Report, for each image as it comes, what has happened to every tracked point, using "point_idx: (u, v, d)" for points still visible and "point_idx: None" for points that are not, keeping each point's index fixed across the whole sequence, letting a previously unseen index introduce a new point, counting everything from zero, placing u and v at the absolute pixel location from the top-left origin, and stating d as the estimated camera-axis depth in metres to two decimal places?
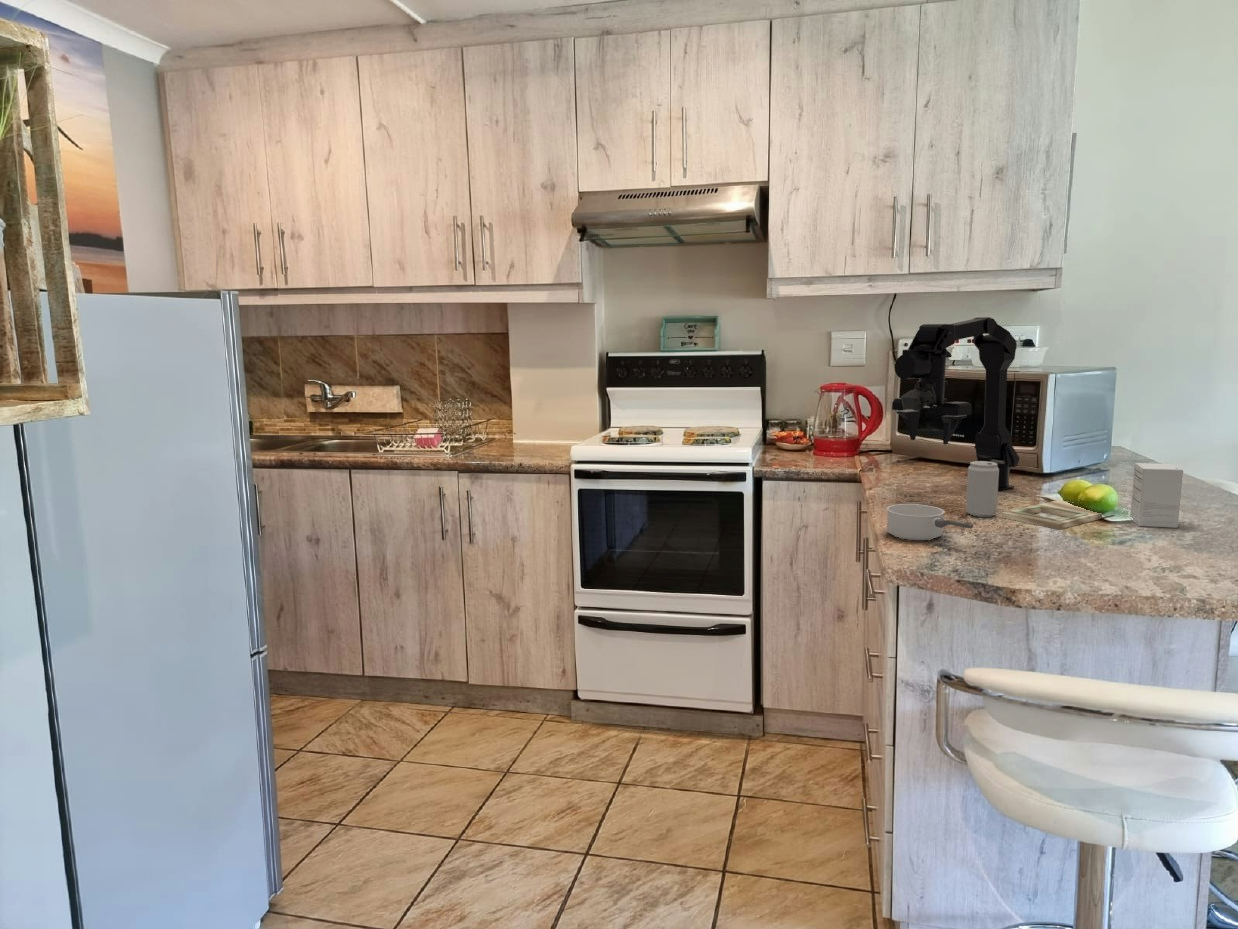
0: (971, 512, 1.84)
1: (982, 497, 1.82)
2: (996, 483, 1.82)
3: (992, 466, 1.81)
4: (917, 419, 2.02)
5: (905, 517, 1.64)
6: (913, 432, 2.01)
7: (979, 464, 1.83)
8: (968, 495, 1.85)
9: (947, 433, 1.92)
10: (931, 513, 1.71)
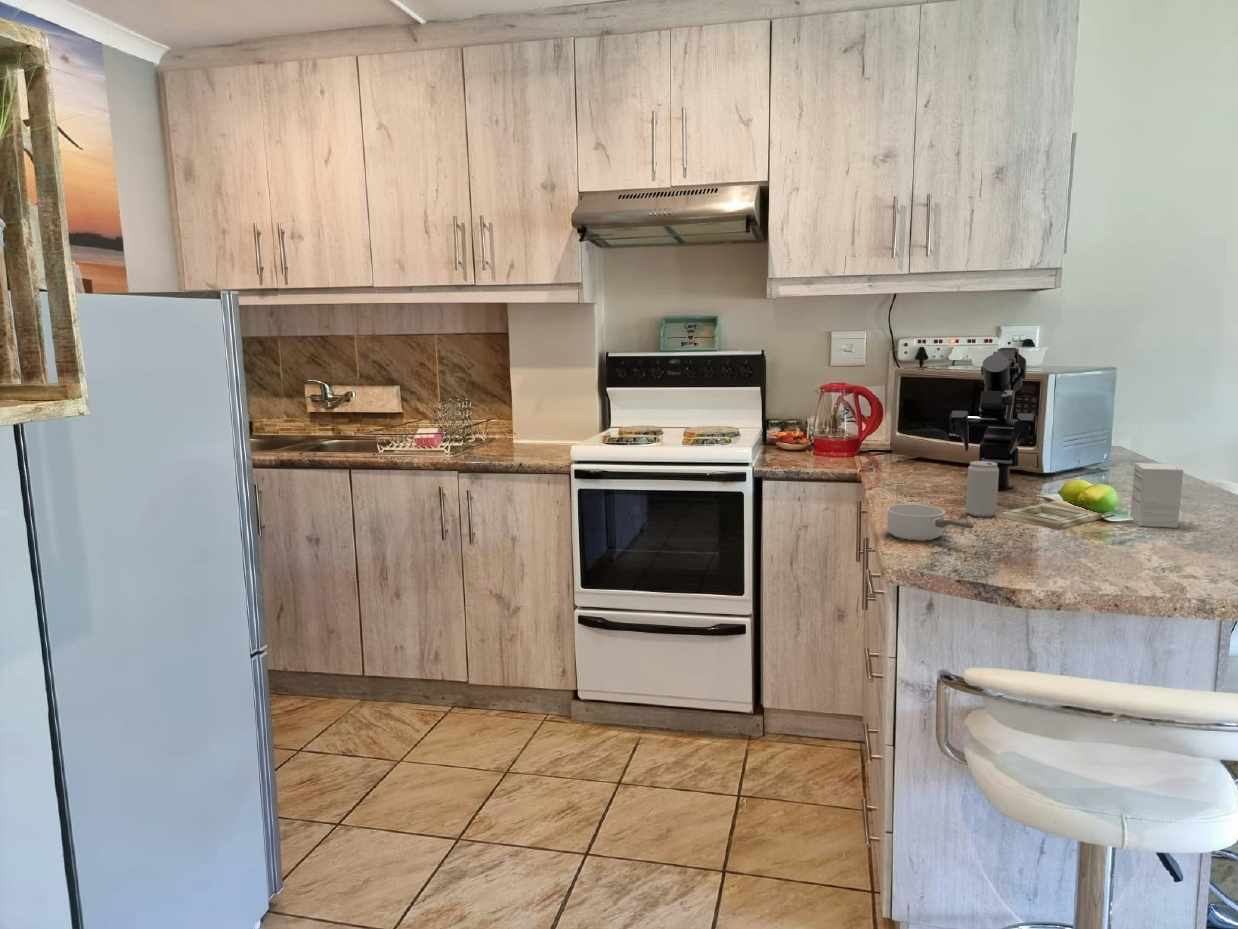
0: (971, 512, 1.84)
1: (982, 497, 1.82)
2: (996, 483, 1.82)
3: (992, 466, 1.81)
4: (968, 438, 1.97)
5: (905, 517, 1.64)
6: (968, 444, 1.94)
7: (979, 464, 1.83)
8: (968, 495, 1.85)
9: (1015, 441, 1.89)
10: (932, 513, 1.71)
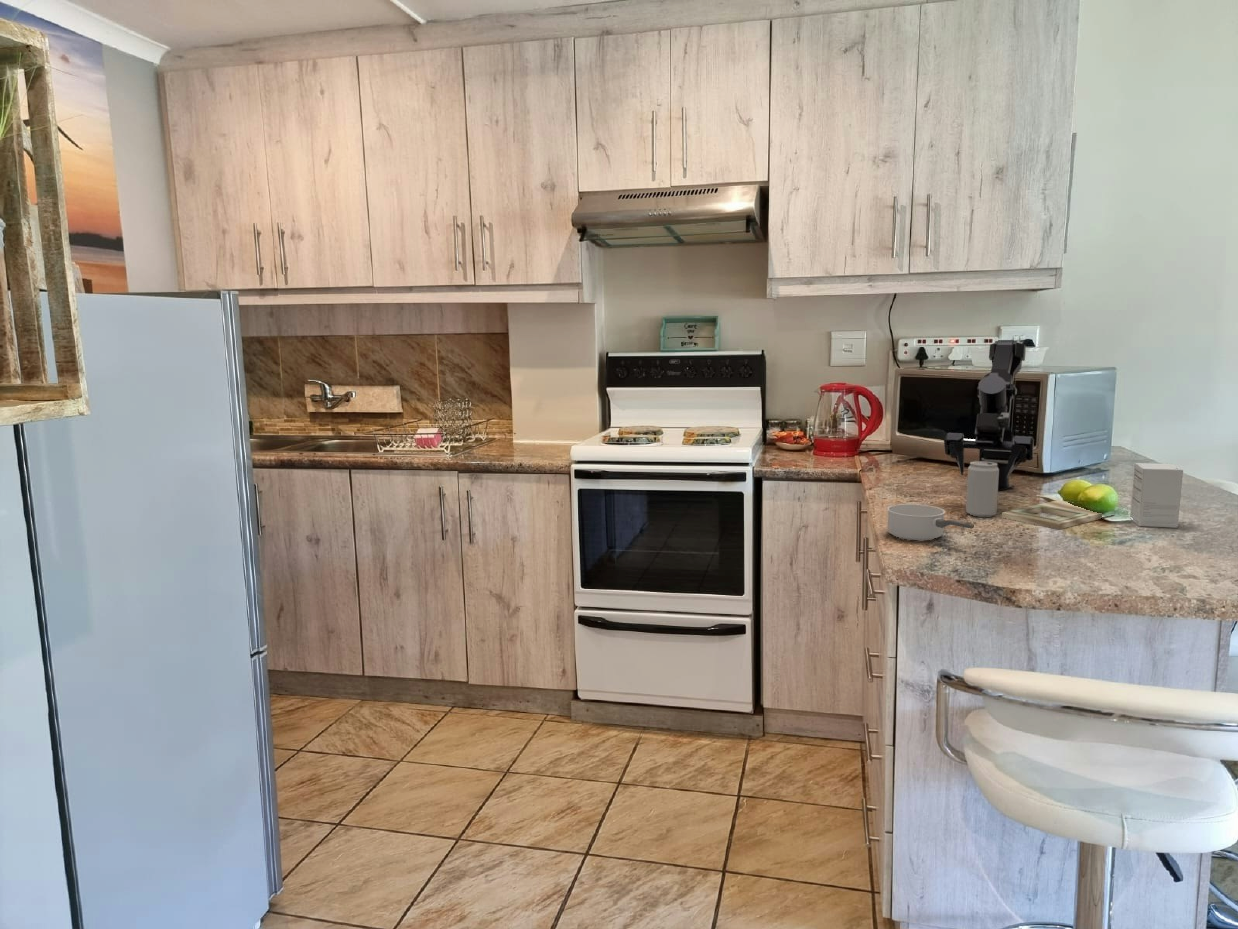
0: (971, 512, 1.84)
1: (982, 497, 1.82)
2: (996, 483, 1.82)
3: (992, 466, 1.81)
4: None
5: (905, 517, 1.64)
6: (963, 467, 1.89)
7: (979, 464, 1.83)
8: (968, 495, 1.85)
9: (1012, 465, 1.84)
10: (932, 513, 1.71)
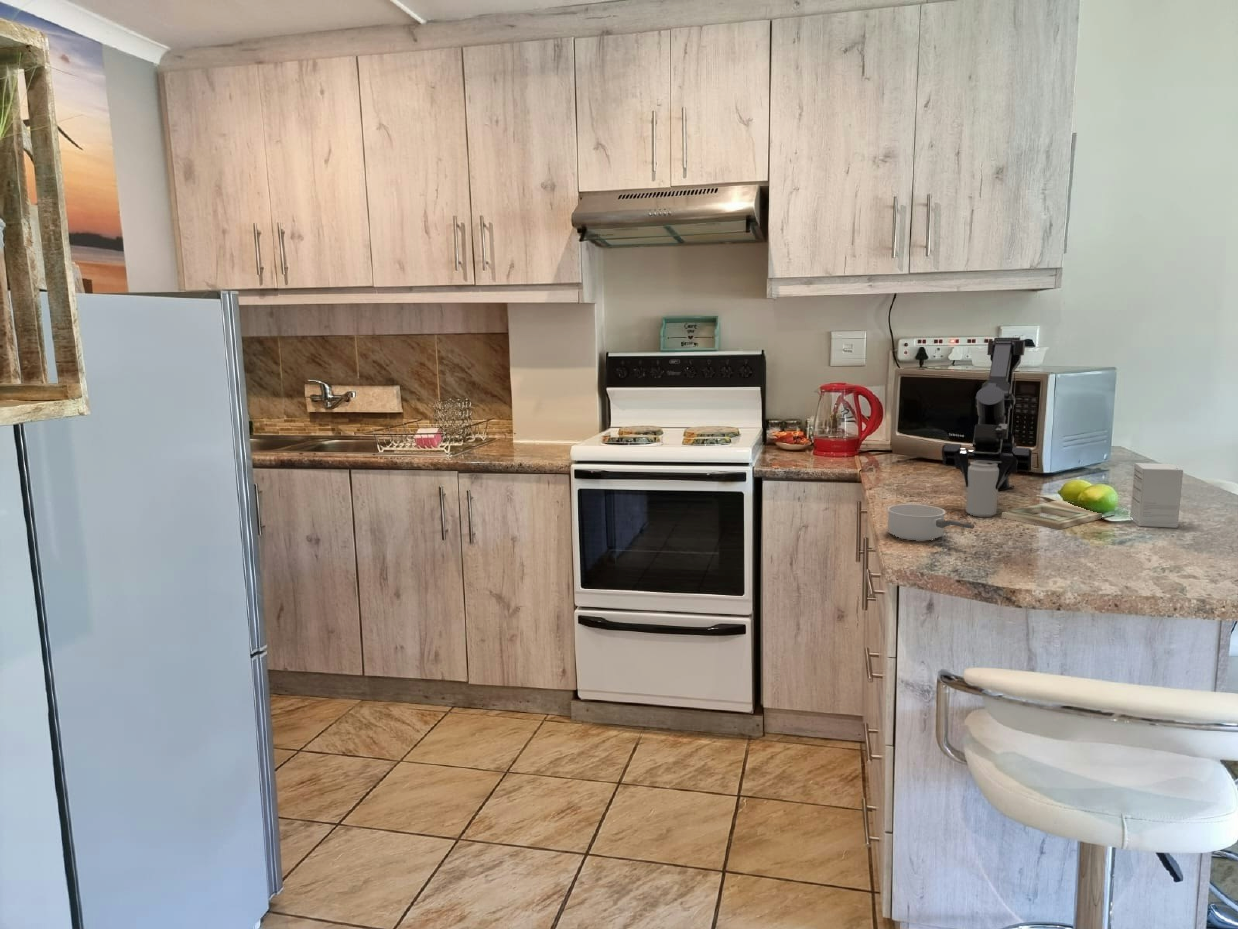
0: (971, 512, 1.84)
1: (982, 497, 1.82)
2: None
3: (992, 466, 1.81)
4: None
5: (906, 517, 1.64)
6: None
7: (979, 464, 1.83)
8: (968, 495, 1.85)
9: (1002, 476, 1.83)
10: (932, 513, 1.71)
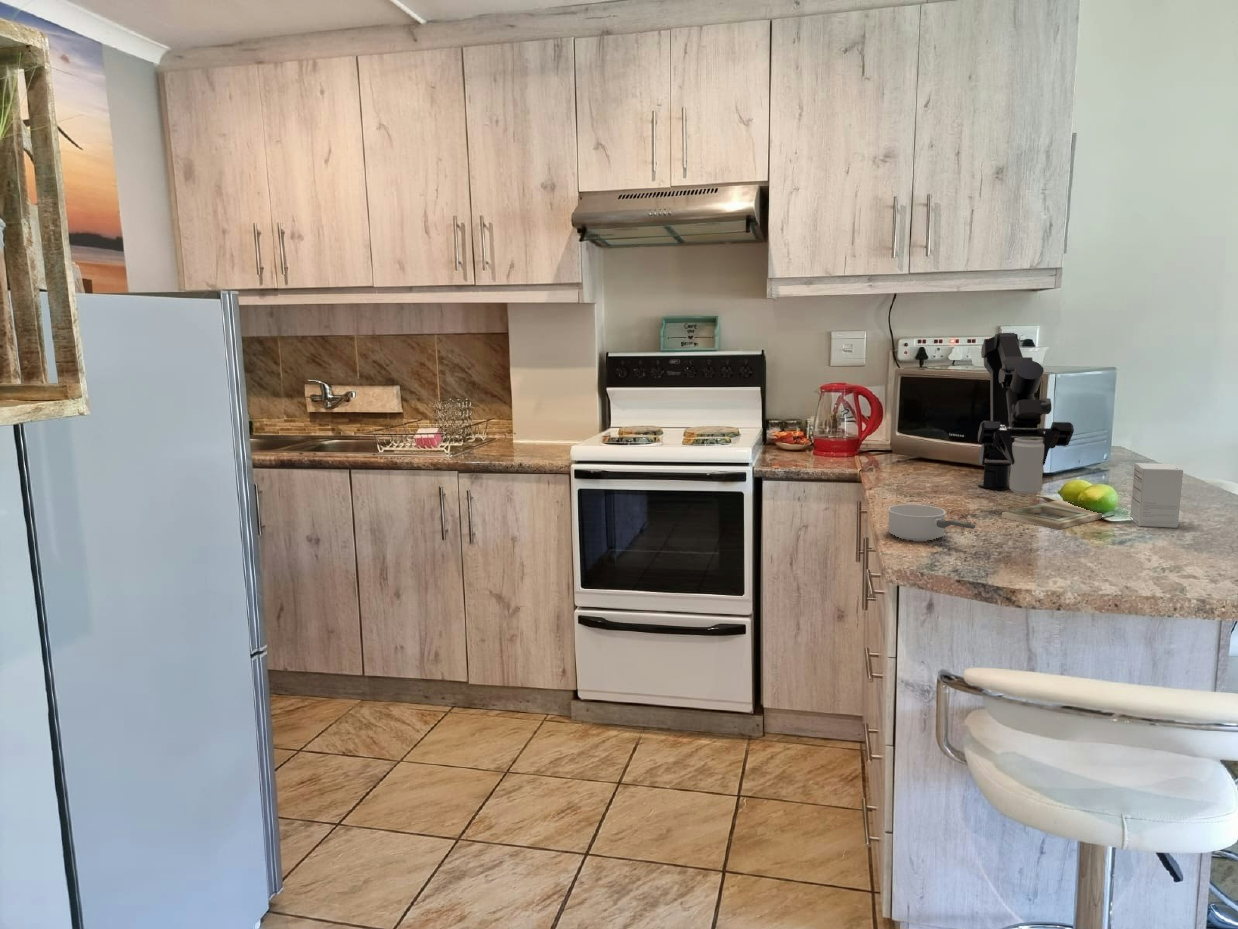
0: (1019, 490, 1.80)
1: (1031, 474, 1.78)
2: None
3: (1040, 442, 1.78)
4: None
5: (906, 517, 1.64)
6: None
7: (1026, 440, 1.78)
8: (1015, 473, 1.80)
9: (1047, 452, 1.79)
10: (933, 513, 1.71)
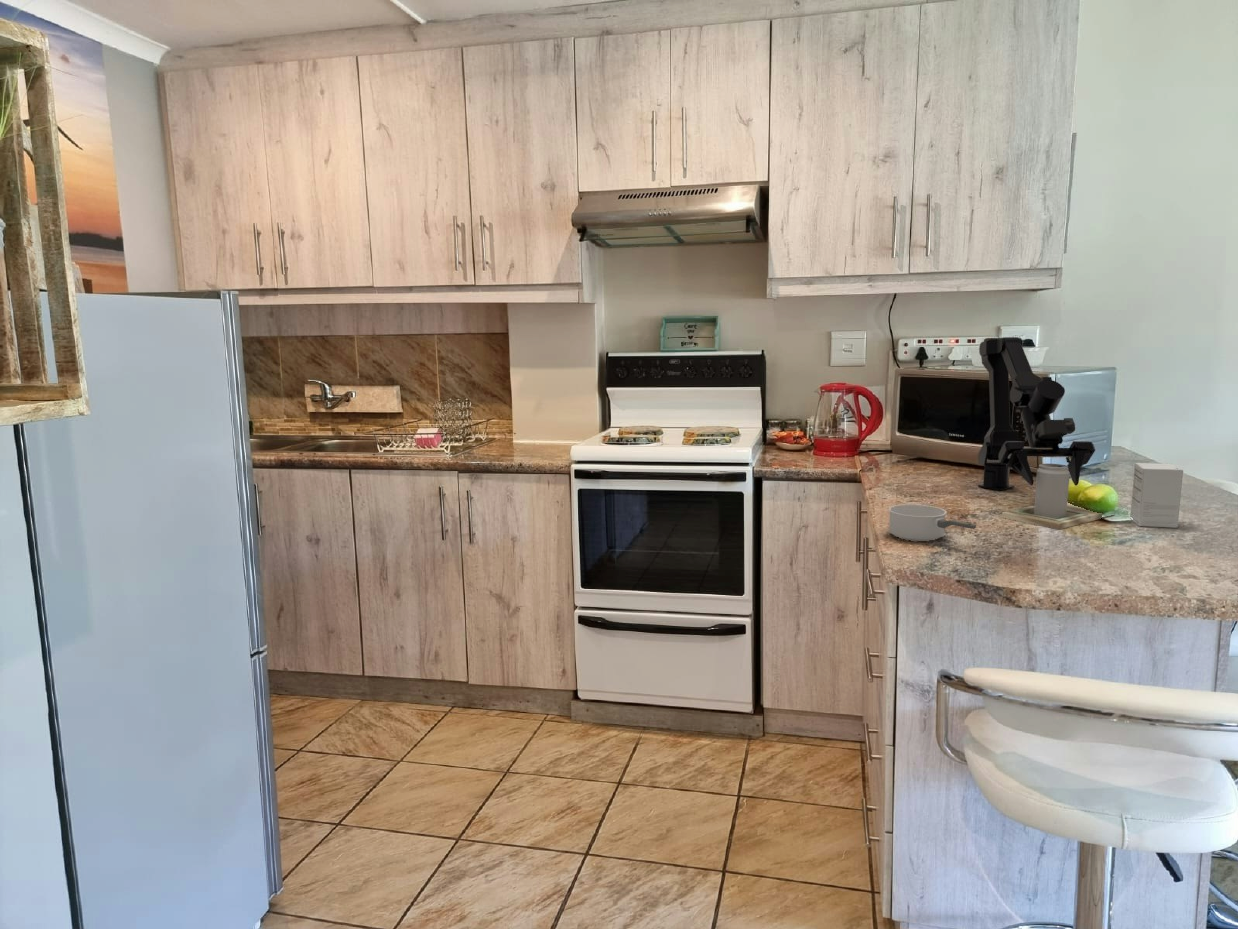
0: None
1: (1059, 501, 1.78)
2: (1068, 485, 1.79)
3: (1066, 468, 1.77)
4: None
5: (907, 517, 1.64)
6: None
7: (1053, 467, 1.78)
8: (1041, 499, 1.79)
9: (1079, 472, 1.79)
10: (933, 513, 1.71)
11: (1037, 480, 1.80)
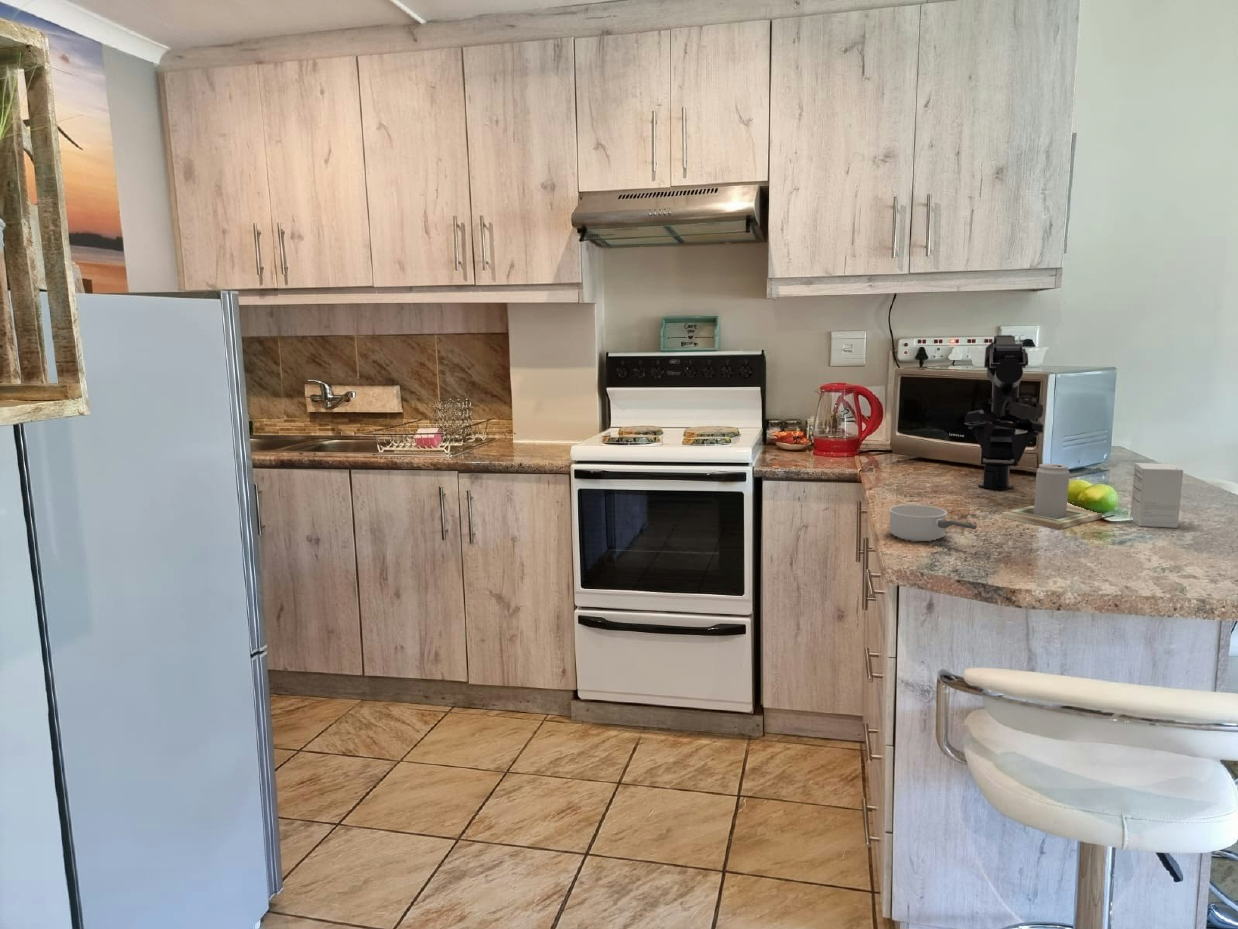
0: None
1: (1059, 501, 1.78)
2: (1068, 485, 1.79)
3: (1066, 468, 1.77)
4: None
5: (908, 518, 1.64)
6: None
7: (1053, 467, 1.78)
8: (1041, 499, 1.79)
9: None
10: (934, 514, 1.71)
11: (1037, 480, 1.80)
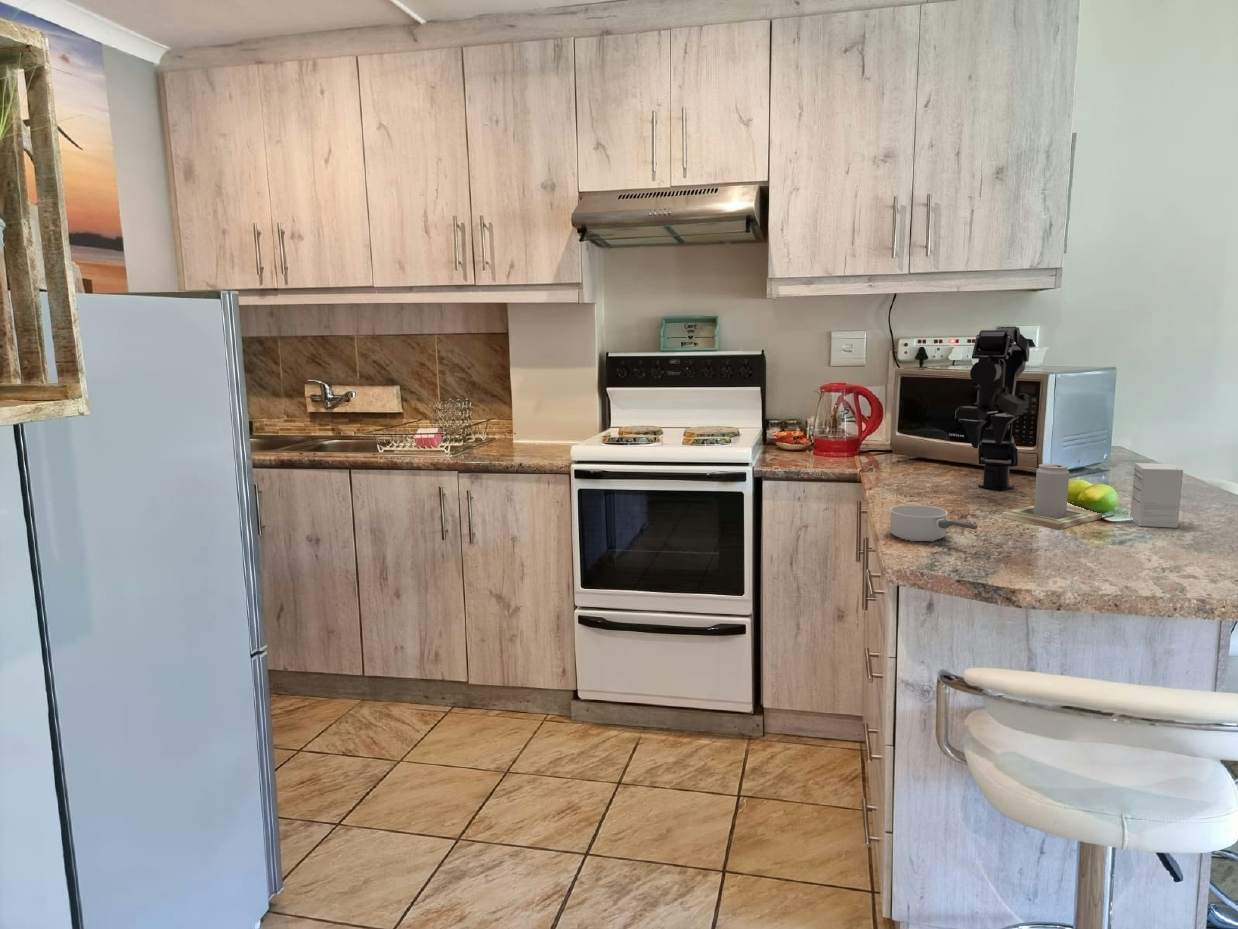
0: None
1: (1058, 501, 1.78)
2: (1068, 484, 1.79)
3: (1066, 468, 1.77)
4: None
5: (908, 518, 1.64)
6: None
7: (1053, 467, 1.78)
8: (1041, 499, 1.79)
9: None
10: (935, 514, 1.71)
11: (1037, 480, 1.80)
